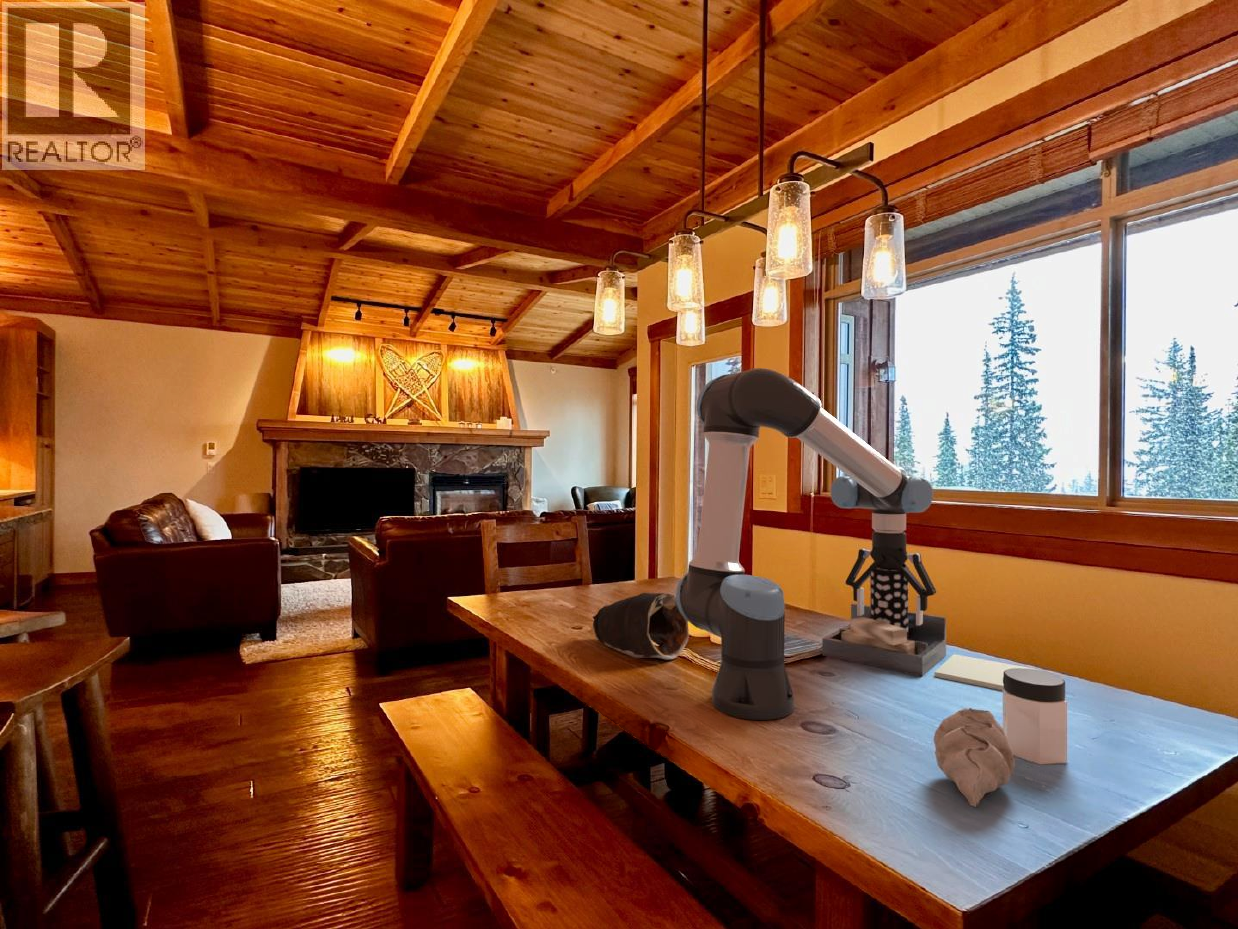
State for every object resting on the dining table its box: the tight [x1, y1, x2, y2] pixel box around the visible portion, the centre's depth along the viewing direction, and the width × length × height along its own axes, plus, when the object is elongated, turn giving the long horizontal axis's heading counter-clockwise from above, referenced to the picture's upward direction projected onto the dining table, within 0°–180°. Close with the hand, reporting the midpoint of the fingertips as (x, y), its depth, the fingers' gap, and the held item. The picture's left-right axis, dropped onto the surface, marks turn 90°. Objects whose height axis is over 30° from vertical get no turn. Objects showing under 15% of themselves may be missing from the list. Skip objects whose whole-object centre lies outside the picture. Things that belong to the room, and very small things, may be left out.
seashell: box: [933, 707, 1016, 808], centre depth 88 cm, size 10×15×10 cm
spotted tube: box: [869, 567, 909, 639], centre depth 150 cm, size 8×8×20 cm
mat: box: [934, 653, 1037, 692], centre depth 133 cm, size 16×16×1 cm
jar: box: [1002, 668, 1068, 765], centre depth 98 cm, size 9×8×12 cm
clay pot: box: [591, 592, 690, 661], centre depth 153 cm, size 15×15×25 cm
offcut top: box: [849, 617, 907, 645], centre depth 143 cm, size 12×4×3 cm, turn 26°
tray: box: [821, 602, 947, 677], centre depth 147 cm, size 22×19×9 cm
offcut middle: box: [841, 629, 915, 654], centre depth 143 cm, size 15×4×3 cm, turn 45°
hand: (889, 619), depth 150 cm, fingers open, 13 cm apart
